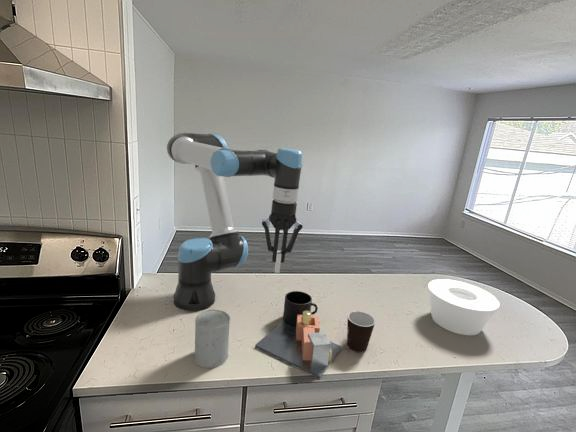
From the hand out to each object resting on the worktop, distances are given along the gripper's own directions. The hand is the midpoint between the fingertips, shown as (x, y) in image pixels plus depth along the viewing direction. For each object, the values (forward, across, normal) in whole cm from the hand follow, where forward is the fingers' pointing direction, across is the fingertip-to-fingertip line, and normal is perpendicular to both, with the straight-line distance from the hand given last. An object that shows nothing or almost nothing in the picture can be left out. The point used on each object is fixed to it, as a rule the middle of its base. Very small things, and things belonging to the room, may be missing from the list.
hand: (276, 270), depth 106 cm
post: (+21, +11, -6) cm, 24 cm away
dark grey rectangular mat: (+20, +9, -11) cm, 25 cm away
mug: (+21, +10, +4) cm, 24 cm away
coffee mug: (+20, +29, -8) cm, 36 cm away
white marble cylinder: (+21, -18, -16) cm, 32 cm away
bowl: (+20, +71, +8) cm, 74 cm away
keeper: (+19, +14, -17) cm, 29 cm away
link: (+20, +11, -10) cm, 25 cm away
